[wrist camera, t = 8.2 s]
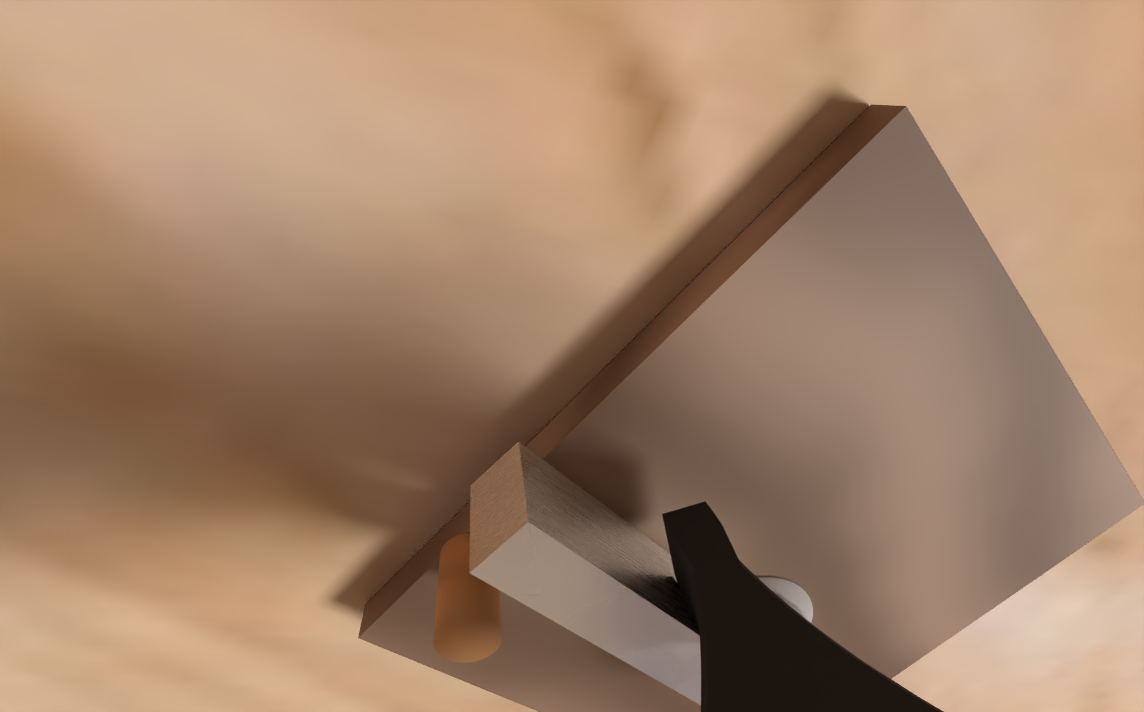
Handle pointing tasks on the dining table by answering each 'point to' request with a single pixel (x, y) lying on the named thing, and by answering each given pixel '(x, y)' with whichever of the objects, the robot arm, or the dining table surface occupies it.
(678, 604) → the cap handle
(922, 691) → the dining table surface
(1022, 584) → the base board
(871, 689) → the robot arm
